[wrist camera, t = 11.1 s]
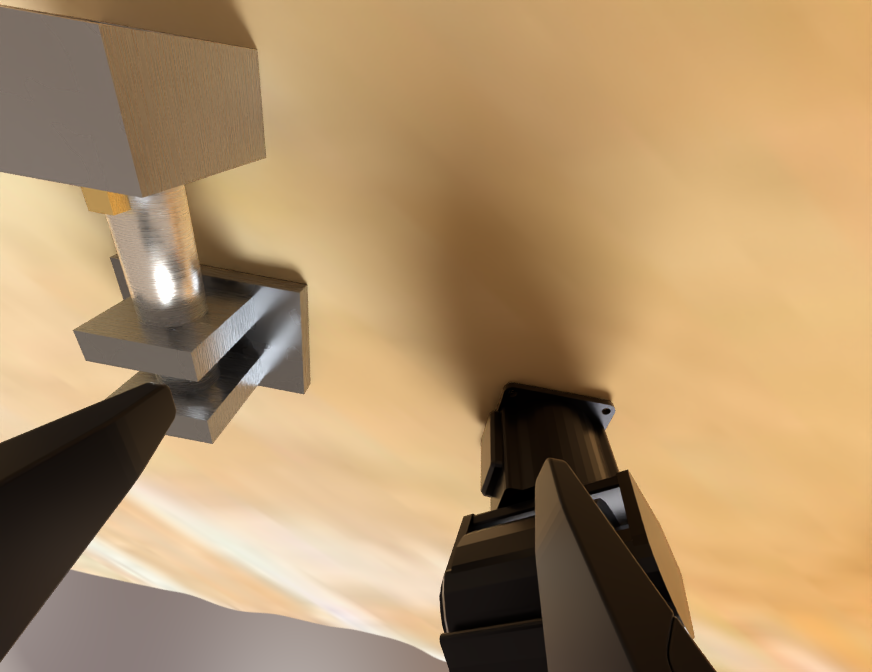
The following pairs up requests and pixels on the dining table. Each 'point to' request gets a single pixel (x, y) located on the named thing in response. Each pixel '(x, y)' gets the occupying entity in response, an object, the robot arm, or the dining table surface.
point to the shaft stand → (192, 317)
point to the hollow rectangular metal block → (122, 104)
